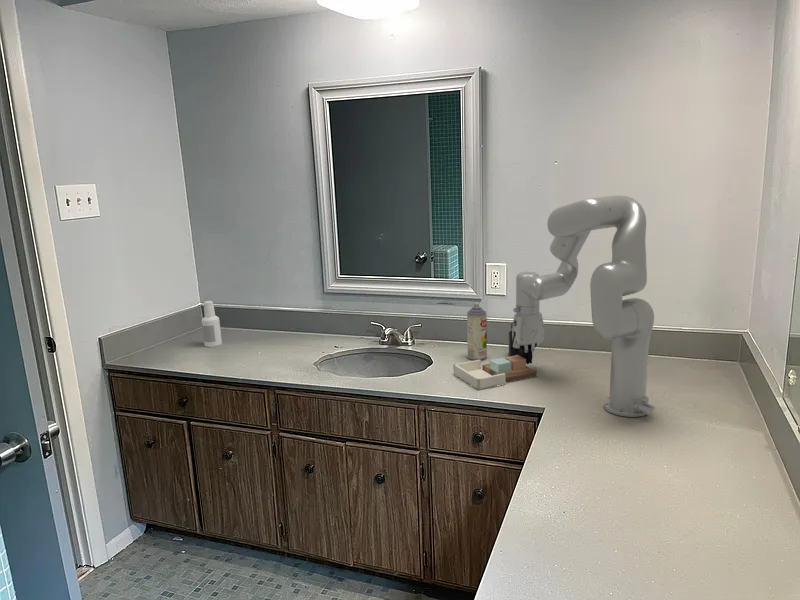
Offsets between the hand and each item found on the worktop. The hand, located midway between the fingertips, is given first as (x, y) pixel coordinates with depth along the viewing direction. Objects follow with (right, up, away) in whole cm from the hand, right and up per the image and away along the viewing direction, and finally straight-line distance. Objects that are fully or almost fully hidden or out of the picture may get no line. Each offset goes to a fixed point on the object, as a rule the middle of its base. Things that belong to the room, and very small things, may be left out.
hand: (527, 362), depth 206 cm
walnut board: (-7, -3, -2) cm, 8 cm away
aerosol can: (-15, 0, +15) cm, 21 cm away
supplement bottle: (0, +1, +15) cm, 15 cm away
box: (-17, -5, -6) cm, 19 cm away
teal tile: (-10, -2, -4) cm, 10 cm away
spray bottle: (-119, +3, +43) cm, 126 cm away
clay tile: (-4, -1, -2) cm, 5 cm away
